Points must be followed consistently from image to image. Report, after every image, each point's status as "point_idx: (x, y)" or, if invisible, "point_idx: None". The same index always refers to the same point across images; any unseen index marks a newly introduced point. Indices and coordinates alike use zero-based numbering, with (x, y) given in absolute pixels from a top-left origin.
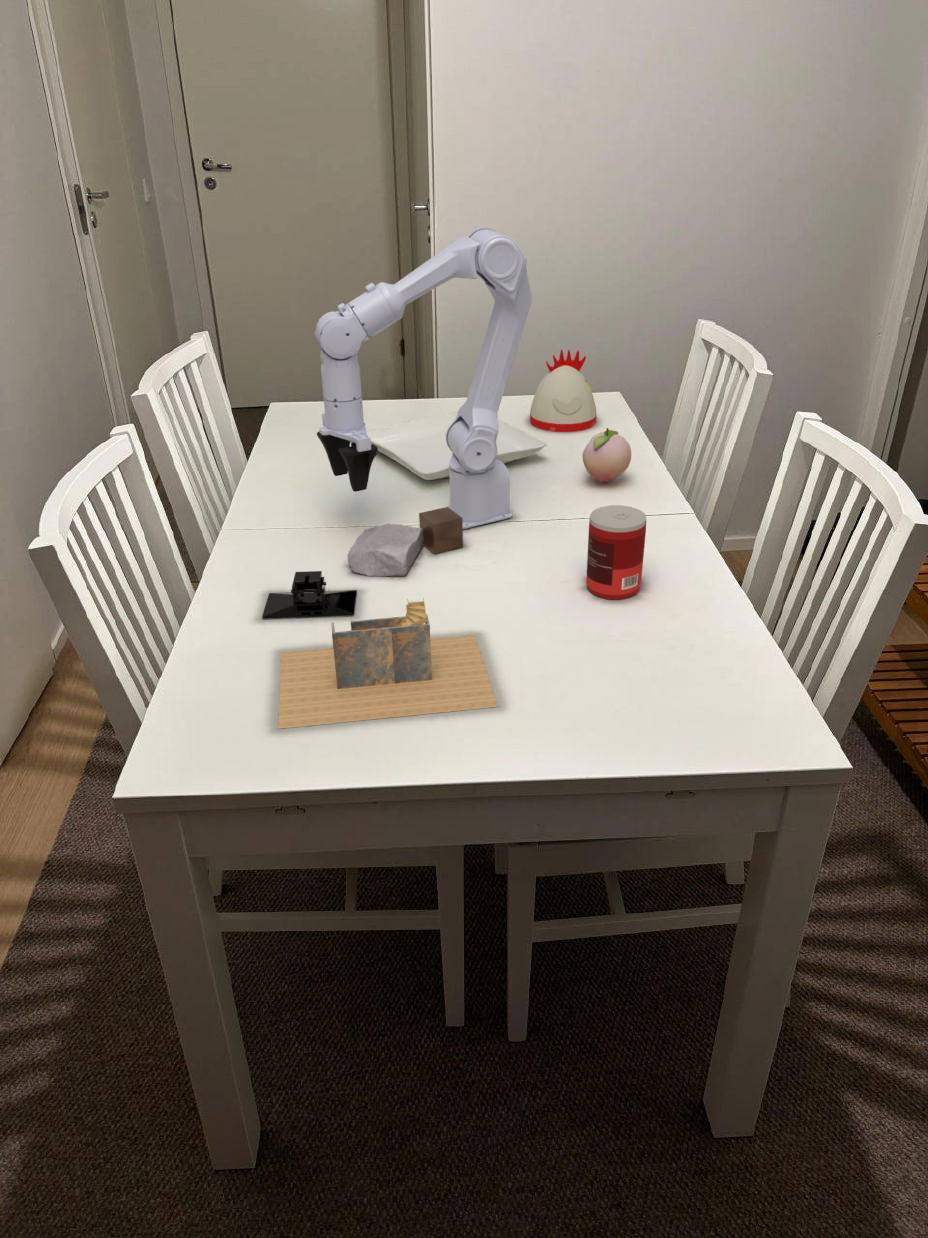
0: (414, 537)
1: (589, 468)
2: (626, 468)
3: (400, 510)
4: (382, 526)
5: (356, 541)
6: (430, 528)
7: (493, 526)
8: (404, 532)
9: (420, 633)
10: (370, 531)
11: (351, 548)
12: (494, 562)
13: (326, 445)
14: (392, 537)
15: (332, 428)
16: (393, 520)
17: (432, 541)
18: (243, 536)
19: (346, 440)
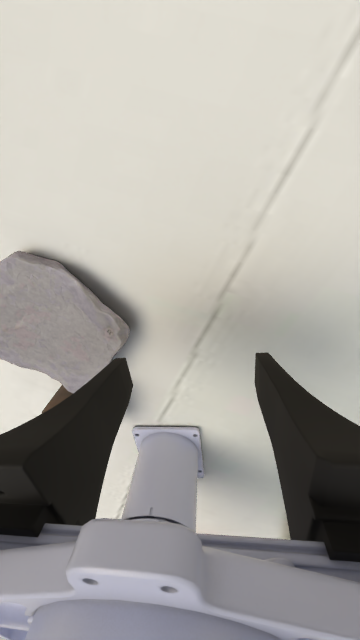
0: (50, 374)
1: None
2: None
3: (240, 392)
4: (101, 349)
5: (79, 290)
6: (57, 403)
7: (133, 451)
8: (64, 369)
9: None
10: (106, 325)
11: (57, 273)
12: (35, 416)
13: (294, 428)
14: (49, 347)
15: (64, 626)
16: (208, 372)
17: (62, 388)
18: (311, 13)
19: (286, 496)
